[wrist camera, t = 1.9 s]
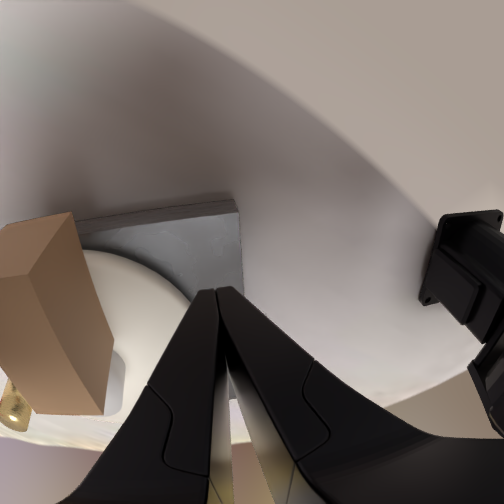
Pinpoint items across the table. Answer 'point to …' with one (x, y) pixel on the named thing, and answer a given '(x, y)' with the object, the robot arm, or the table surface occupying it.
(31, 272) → the flange
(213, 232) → the base plate
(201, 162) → the table surface
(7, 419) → the gold rounded piece
